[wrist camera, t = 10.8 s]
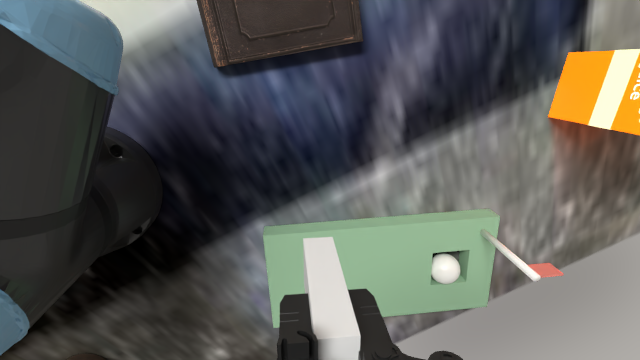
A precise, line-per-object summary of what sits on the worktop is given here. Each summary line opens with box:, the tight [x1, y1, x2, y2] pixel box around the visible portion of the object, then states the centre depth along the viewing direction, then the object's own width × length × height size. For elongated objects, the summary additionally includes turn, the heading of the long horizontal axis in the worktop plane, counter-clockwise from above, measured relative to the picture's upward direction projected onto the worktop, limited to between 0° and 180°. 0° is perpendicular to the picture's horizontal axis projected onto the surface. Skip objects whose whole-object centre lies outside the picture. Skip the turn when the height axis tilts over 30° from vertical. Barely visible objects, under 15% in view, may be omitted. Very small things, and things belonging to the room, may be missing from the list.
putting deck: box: [263, 209, 563, 328], centre depth 41 cm, size 31×14×12 cm, turn 93°
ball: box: [431, 253, 460, 284], centre depth 45 cm, size 4×4×4 cm
